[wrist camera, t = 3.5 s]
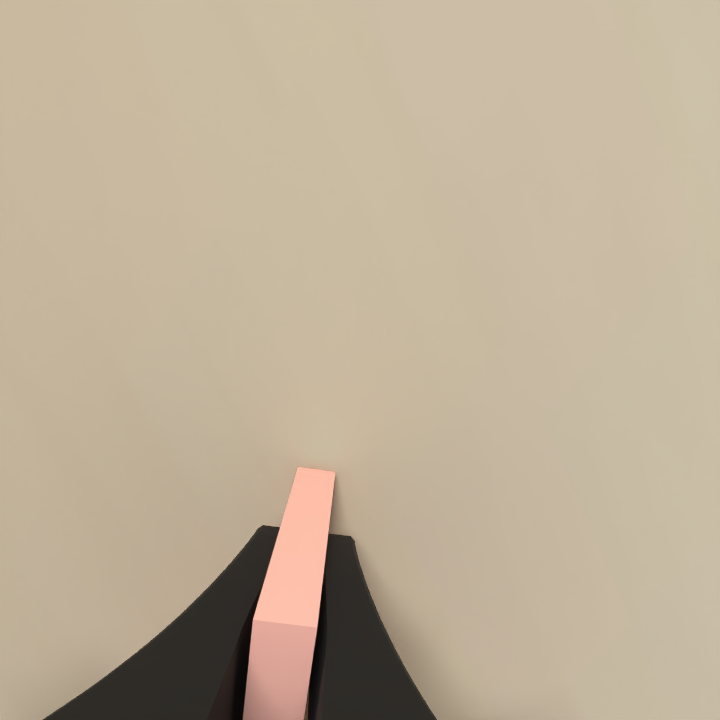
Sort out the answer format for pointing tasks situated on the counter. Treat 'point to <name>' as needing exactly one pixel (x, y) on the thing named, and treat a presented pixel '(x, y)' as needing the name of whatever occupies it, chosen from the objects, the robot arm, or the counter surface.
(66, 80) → the counter surface
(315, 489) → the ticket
